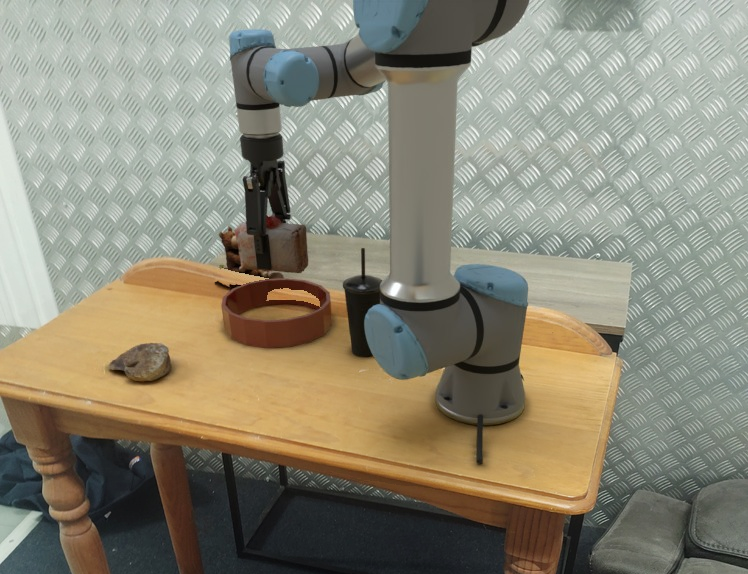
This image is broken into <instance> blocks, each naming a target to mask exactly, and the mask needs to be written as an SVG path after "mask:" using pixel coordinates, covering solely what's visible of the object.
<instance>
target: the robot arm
mask: <svg viewBox="0 0 748 574" xmlns="http://www.w3.org/2000/svg"><path fill="white" fill-rule="evenodd" d="M529 4H530V0H352V9H353V10H352V11H353V19H354V24H355V26H356V28H357V29H358V34H356V35H355V36H353V37H352V38H350V39H349V40H347V41H345V42H342V43H339V44H329V45H318V46H306V47H305V46H304V47H292V48H277V46H276V43H275V37H274V34H273V33H272V31H271V30H268V29H261V28H260V29H259V28H258V29H257V28H254V29H253V28H252V29H251V28H250V29H239V30H234V31H232V32H231V33H230V34H229V38H228V40H229V41H228V42H229V43H228V44H229V61H230V67H231V74H232V81H233V83H232V84H233V89H234V97H235V98H234V99H235V105H236V112H235V116H236V118H237V122H238V131H239V132H240V134H241V136H240V137H239V141H240V143H239V144H240V152H241V157H242V158H243V159H244V160H245V161H248V162H249V164H250V167H249V168H250V169H249V175H248V176H246V175H243V177H242V184H243V188H244V189H243V190H244V205H245V207H244V208H245V222H246V229H247V234H248V235H253V236H254V244H255V253H256V262H257V269H265V270H271V269H272V266H271V256H270V246H269V237H268V234H266V220H267V215H268V203H269V207H270V210H271V213H272V214H273V213H274V214H275V216H276V217H277V218H278V219H280V221H281V223H287V221H290V220H291V218H292V215H291V214H290V213H291V204H290V199H289V198H290V197H289V192H288V185H287V178H286V163H285V160H281V159H282V158H283V157H284V155H285V154H284V141H283V136H282V134H281V133H280V132H282V130H283V126H282V116H281V115H282V114H281V106H284V107H288V108H292V107H295V108H301V107H304V106H306V105H308V104H309V103H311V102H313V101H320V100H326V99H332V98H342V97H352V96H365V95H369V94H372V93H376V92H378V91H381V89H382V88H383V87H384V84H385V82H387V117H388V118H387V123H388V127H387V128H388V129H387V132H388V194H389V196H388V201H389V202H388V204H389V206H388V207H389V208H388V209H389V274H388V275H387V276H386V277H385V278H383V279H382V280H383V281H382V282H381V284H380V304H377V305H374V306H373V307H372V308H370V309H369V311H368V313H367V314H366V316H365V321H364V328H365V335H366V339H367V342H368V345H369V348H370V350H371V352H372V354H373V355H372V357H373V358H374V359H375V361H376V363H377V364H378V365H379V367H380V368H381V369H382V370H383V371H384V372H385V373H386V374H387V375H389V376H390V377H391V378H394V379H396V380H399V381H407V380H411V379H414V378H418V377H419V378H421V377H425V376H427V374H430V373H432V372H436V371H439V370H441V369H443V372H442V374H441V375H440V379H439V382H438V384H437V386H436V390H435V405H436V407H437V409H438V410H439V412H441V413H442V414H443V415H445V416H446V417H448V418H450V419H452V420H454V421H457V422H459V423H463V424H466V425H467V424H468V425H472V426H473V425H474V426H476V427H477V428H476V463H477V464H478V465H481V464H483V461H484V459H483V457H484V455H483V452H484V451H483V449H484V447H483V444H484V443H483V442H484V441H483V439H484V436H483V435H484V426H494V425H495V426H496V425H501V424H504V423H508V422H511V421H513V420H515V419H517V418H518V417H519V416H520V415H521V414H522V413H523V411H524V410H525V409H524V408H525V402H526V392H525V386H524V382H525V379H524V376H523V374H522V373H521V368H520V357H521V353H522V344H523V339H524V338H523V337H524V331H525V325H526V318H527V317H526V316H527V310H528V306H529V302H528V298H529V284H528V282H527V280H526V278H525V277H524V276H523V275H521V274H520V273H518V272H516V271H515V270H512V269H508V268H507V267H503V266H497V265H491V264H483V263H469V264H463V265H460V266H458V267H457V268H456V269H455V271H454V275H453V274H452V273H451V263H452V262H451V261H452V238H453V237H452V235H453V212H454V210H453V209H454V186H455V185H454V184H455V159H456V158H455V156H456V134H457V132H456V130H457V108H458V106H457V105H458V82H459V80H460V78H461V77H462V76H463V74H465V72H467V70H468V69H469V68H470V66H471V65H472V49H473V48H475V47H478V46H481V45H484V44H485V43H487V42H490V41H492V40H495V39H498V38H501V37H503V36H505V35H506V34H507V33H509V32H510V31H512V30H513V29H514V28H515V27H516V26H517V24H519V22H520V21H521V20H522V18H523V17H524V15H525V13H526V10H527V9H528V6H529Z"/></svg>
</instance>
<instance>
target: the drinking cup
mask: <svg viewBox="0 0 748 574" xmlns="http://www.w3.org/2000/svg"><path fill="white" fill-rule="evenodd" d="M360 261H361V262H360V265H361V266H360V267H361V272H360V273H361V274H357V275H354V276H352V277H348V278H347V279H345V280H344V281H342V289H343V290H344V297H345V305H346V313H347V321H348V322H347V323H348V331H349V340H350V346H351V353H352V354H353V355H354V356H356V357H359V358H368V357H373V354H372V352H371V350H370V348H369V345H368V342H367V339H366V335H365V328H364V321H365V316H366V314H367V313H368V311H369V309H370V308H372V307H373V306H374V305H377V304H380V284H381V282H382V281H383V280H384V279H381V278H379V277H376V276H374V275H370V274H366V248H365V247H361V248H360Z"/></svg>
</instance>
